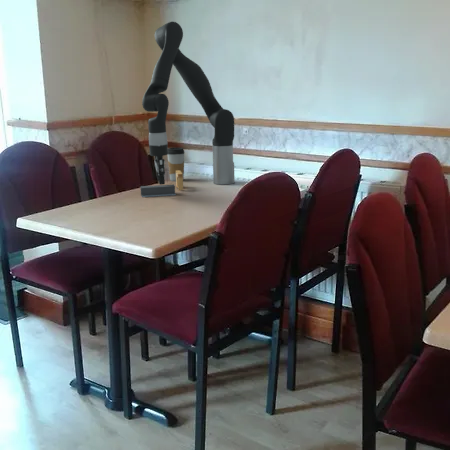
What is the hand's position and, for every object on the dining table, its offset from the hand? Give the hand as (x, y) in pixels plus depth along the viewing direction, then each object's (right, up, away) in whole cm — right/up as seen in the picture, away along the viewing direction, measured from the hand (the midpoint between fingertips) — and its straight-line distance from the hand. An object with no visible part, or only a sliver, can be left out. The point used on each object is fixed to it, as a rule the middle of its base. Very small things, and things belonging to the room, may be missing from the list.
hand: (161, 182), depth 239 cm
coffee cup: (+4, +3, +33) cm, 34 cm away
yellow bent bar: (+7, -2, +12) cm, 14 cm away
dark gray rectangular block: (-1, -5, 0) cm, 5 cm away
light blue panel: (-1, -5, 0) cm, 5 cm away
